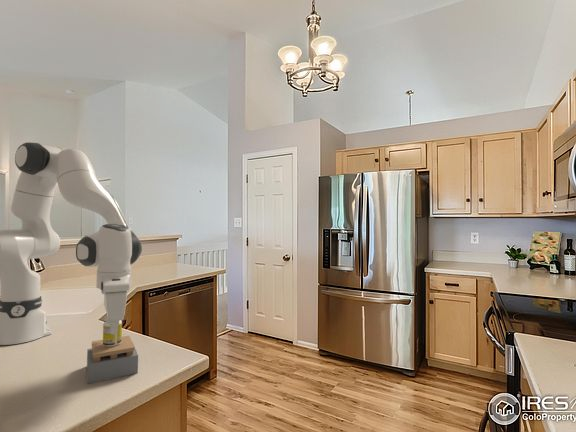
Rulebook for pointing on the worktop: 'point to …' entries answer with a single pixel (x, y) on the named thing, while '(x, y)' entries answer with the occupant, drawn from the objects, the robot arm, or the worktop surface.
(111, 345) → the supplement bottle
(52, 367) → the worktop surface
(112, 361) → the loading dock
